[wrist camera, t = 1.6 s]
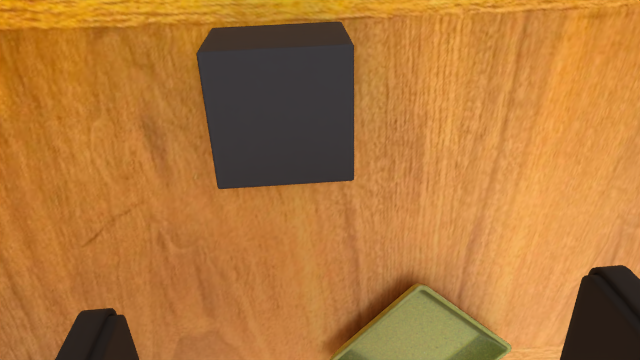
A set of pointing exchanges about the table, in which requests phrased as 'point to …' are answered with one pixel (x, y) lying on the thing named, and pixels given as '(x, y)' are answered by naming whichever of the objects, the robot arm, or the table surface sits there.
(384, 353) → the green square tray
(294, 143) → the black square block
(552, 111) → the table surface
